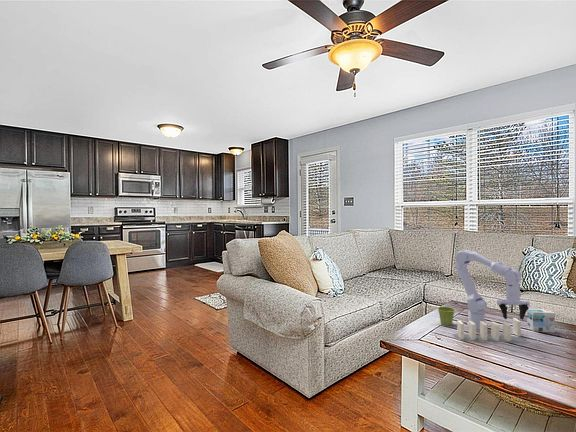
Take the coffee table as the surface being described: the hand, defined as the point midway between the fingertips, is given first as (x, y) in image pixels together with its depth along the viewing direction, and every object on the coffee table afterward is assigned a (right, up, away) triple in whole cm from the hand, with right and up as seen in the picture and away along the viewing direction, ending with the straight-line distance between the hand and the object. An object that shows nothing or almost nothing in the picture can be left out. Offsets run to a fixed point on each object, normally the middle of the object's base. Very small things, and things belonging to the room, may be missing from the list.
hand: (513, 318), depth 165 cm
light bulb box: (+22, -9, +9) cm, 25 cm away
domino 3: (-16, -10, 0) cm, 18 cm away
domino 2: (-21, -10, +1) cm, 23 cm away
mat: (-13, -10, -1) cm, 16 cm away
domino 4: (-10, -10, -1) cm, 14 cm away
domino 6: (+5, -10, +4) cm, 11 cm away
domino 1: (-26, -10, +2) cm, 28 cm away
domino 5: (-5, -10, -2) cm, 11 cm away
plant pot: (-24, -10, +23) cm, 34 cm away
